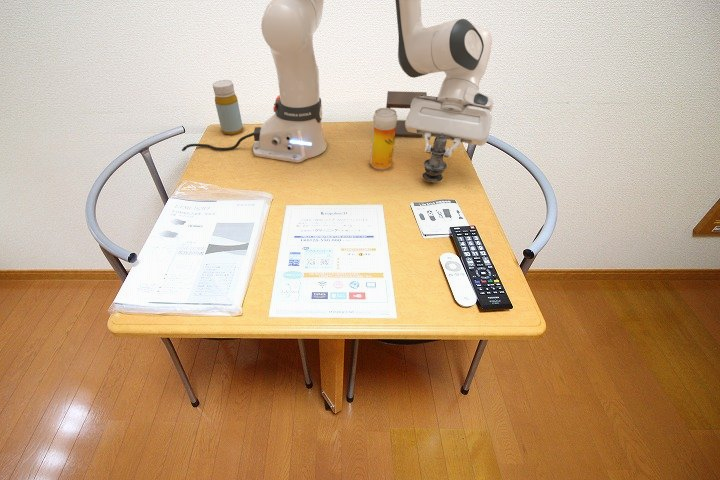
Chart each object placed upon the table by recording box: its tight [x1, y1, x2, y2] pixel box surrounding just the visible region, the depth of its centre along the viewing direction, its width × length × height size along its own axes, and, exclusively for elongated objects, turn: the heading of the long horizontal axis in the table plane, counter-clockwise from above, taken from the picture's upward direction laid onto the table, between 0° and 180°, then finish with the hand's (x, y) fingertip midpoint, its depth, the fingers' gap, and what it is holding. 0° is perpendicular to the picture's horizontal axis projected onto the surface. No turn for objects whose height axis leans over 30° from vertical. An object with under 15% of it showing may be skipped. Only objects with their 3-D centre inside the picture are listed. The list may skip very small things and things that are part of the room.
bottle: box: [212, 79, 244, 136], centre depth 116 cm, size 7×7×15 cm
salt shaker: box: [421, 133, 448, 183], centre depth 91 cm, size 6×6×12 cm
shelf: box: [385, 90, 428, 138], centre depth 114 cm, size 12×10×10 cm
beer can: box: [369, 107, 398, 171], centre depth 98 cm, size 6×6×15 cm
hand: (437, 154), depth 90 cm, fingers closed on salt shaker, 3 cm apart
